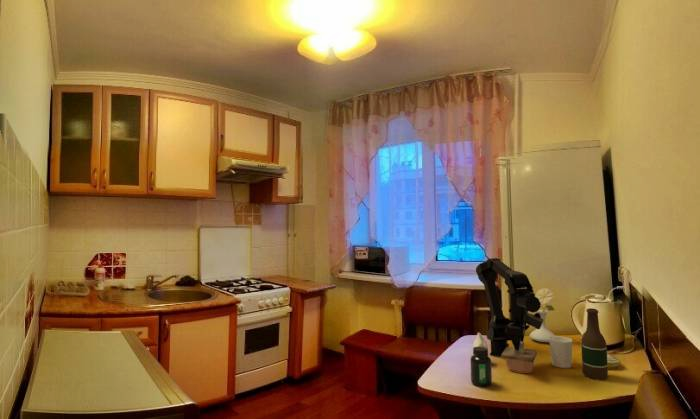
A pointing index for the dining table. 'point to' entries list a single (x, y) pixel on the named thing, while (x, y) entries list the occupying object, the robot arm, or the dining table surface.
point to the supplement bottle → (481, 368)
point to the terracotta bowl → (519, 366)
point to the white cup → (561, 351)
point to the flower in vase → (543, 316)
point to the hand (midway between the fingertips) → (519, 347)
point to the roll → (480, 342)
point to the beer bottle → (594, 349)
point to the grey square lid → (519, 353)
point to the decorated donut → (613, 362)
